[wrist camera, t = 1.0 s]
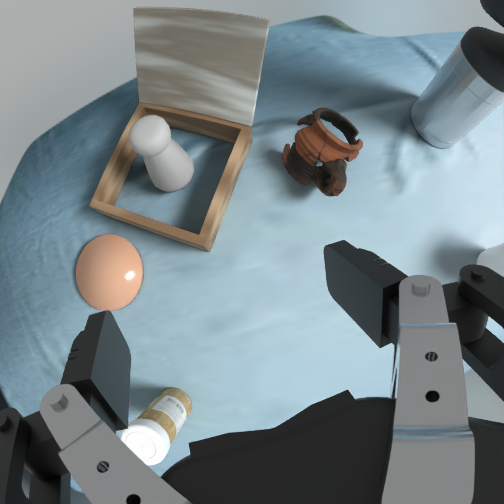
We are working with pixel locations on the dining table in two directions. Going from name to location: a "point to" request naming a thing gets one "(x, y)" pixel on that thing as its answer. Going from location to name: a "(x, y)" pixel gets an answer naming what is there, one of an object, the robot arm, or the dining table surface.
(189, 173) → the salt shaker
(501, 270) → the drinking glass
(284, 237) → the dining table surface
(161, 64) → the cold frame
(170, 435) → the sprinkles bottle
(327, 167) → the pottery mug
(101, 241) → the terracotta saucer
